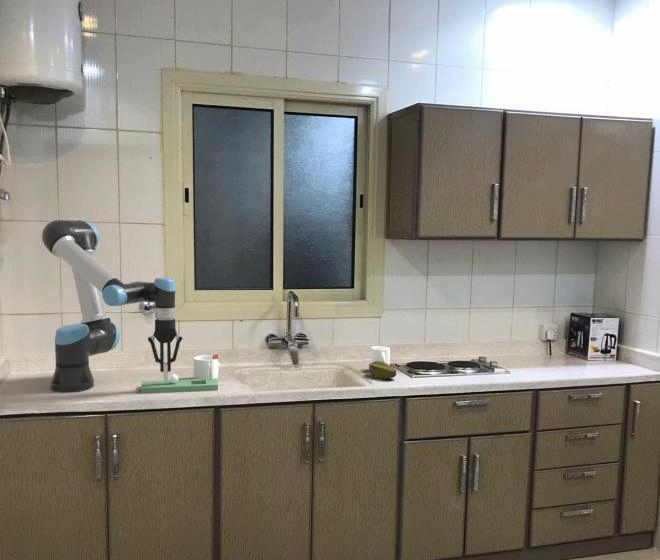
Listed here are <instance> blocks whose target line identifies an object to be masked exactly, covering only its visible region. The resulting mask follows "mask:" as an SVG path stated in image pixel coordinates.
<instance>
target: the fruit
mask: <svg viewBox="0 0 660 560" xmlns="http://www.w3.org/2000/svg"><path fill="white" fill-rule="evenodd" d="M368 370H369V373H370V374H371V376H373V377H374V378H375V377H376V378H375V379H377V378H380V379H379V380H387V379H394V378H395V377H397V370H396V369H395V368H394V367H393V366H392V365H389V364H386V363H384V362H380V361H376V362H373V363H371V362H370V363H369V364H368Z"/></svg>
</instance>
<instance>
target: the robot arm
mask: <svg viewBox="0 0 660 560" xmlns="http://www.w3.org/2000/svg"><path fill="white" fill-rule="evenodd" d="M41 240H42V243H43V245H44V246H45V248H46V250H48V251H49V253H51V254H52V255H53V256H55V257H56V258H61V259H62V260H63V261H64V262H66V263H67V264H68V265H69V266H70V267H71V269H72V275H73V279H74V284H75V288H76V293H77V298H78V303H79V307H80V312H81V316H82V317H81V318H82V319H81V320H80V322H79V323H73V324H66V325H63V326H60V327H59V328H57V329H56V331H55V334H54V335H55V336H54V352H55V353H54V354H55V370H54V372H53V375H52V379H51V381H50V390H52V392H53V391H54V392H60V393H73V392H81V391H86V390H89V389H92V388H94V386H95V379H94V376H93V374H92V371H91V369H90V364H89V363H90V357H92V356H94V355H95V356H96V355H100V354H105V353H108V352H110V351H113V350H114V349H115V348H116V347H117V346H118V344H119V342H120V337H121V333H120V329H119V327H118V326H117V325H116V323H114V322H112V321H111V317H110V316H109V315H107V314H106V312H105V306H104V303H105V304H106V305H107V306H110V307H118V306H119V307H121V306H124V305H130V304H137V303H154V332H153V334H152V335H151V336H149V337H147V341H148V342H149V343H150V345H151V347H150V348H151V349H152V350H151V351H152V355H153V357H154V362H156V363H159V365H160V366H159V367H160V368H159V369H160V373H163V381H168V380H169V373H168V372H171V370H172V368H171V367H172V363H173V362H176V360H177V356H178V351H179V348H180V343H181V342H182V341H183V335H180V334H178V333H177V332H178V331H177V330H176V329H177V327H176V290H177V289H176V282H175V279H174V278H173V277H156V278H155V279H154V282H147V281H131V282H130V283H124V282H122V281H121V280H120V279H118V278H117V277H116V276H115V275H114V274H113V273H111V272H110V271H109V270H108V269H106V267H104V266H103V265H102V264H101V263H100V262H98V260H96V259H95V258H94V255H95V253H96V252H97V249H96V247H97V246H98V245H99V241H100V233H99V231H98V229H97V228H96V226H95V225H94V224H93V223H91V222H89V221H85V220H80V219H78V220H73V219H72V220H68V219H67V220H65V219H56V220H52V221H50V222H48V223H47V224H46V225H45V226H44V228H43V230H42V232H41ZM103 302H104V303H103ZM155 339H156V340H157V341H158V343H159V351H160V353H159V355H158V351H157V347H156V344H155V341H156V340H155ZM174 339H175V341H176V343H175V347H174V350H173V353H171V349H172V348H171V347H172V346H171V345H172V344H171V343H172V342H173V341H174ZM165 344H166V349H167V351H166V352H167V353H166V355H167V356H166V357H167V358H166V359H167V361H165V360H164V359H165V358H164V356H165V355H164V351H165V350H164V349H165V348H164V345H165ZM171 354H172V355H171ZM159 356H160V357H159Z"/></svg>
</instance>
